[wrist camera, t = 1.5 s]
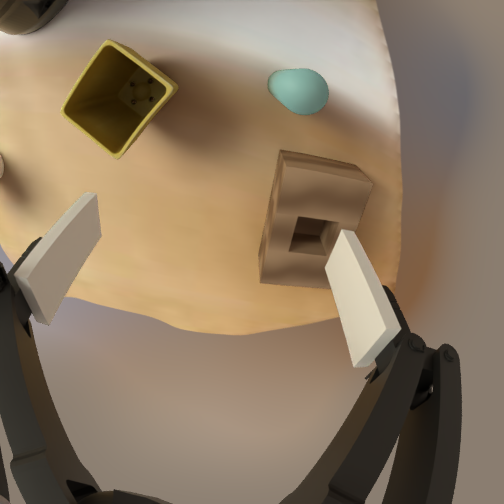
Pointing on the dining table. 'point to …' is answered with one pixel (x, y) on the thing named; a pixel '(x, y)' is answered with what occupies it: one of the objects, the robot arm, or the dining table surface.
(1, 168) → the dixie cup
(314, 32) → the dining table surface
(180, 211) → the dining table surface
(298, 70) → the pin
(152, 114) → the flower pot
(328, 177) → the block
